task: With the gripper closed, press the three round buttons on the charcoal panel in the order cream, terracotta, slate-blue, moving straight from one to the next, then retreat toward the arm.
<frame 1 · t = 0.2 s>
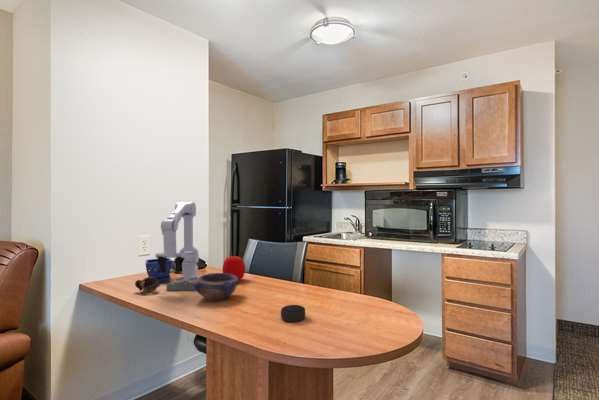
hand: (170, 272, 164), 10 cm above the table, fingers open, 7 cm apart
cream button: (206, 280, 172), point 4 cm above the table, slide at 0.0 cm
terracotta button: (179, 281, 173), point 4 cm above the table, slide at 0.0 cm
tomato: (234, 281, 186), on the table
flower pot: (159, 281, 191), on the table
slate button: (193, 280, 172), point 4 cm above the table, slide at 0.0 cm
brown bird figurine: (147, 292, 168), on the table
panel: (193, 288, 172), on the table
smart speaker: (293, 319, 124), on the table
bowl: (217, 298, 153), on the table
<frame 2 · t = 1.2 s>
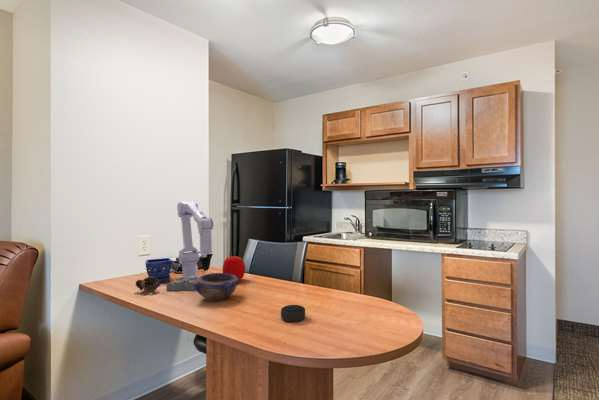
hand: (206, 269, 172), 9 cm above the table, fingers open, 4 cm apart
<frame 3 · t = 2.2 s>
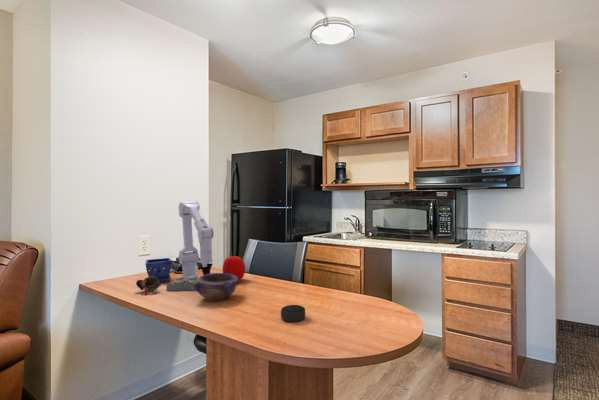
hand: (206, 278, 172), 5 cm above the table, fingers closed, pressing on cream button
cream button: (206, 283, 172), point 3 cm above the table, slide at 1.2 cm, touching gripper
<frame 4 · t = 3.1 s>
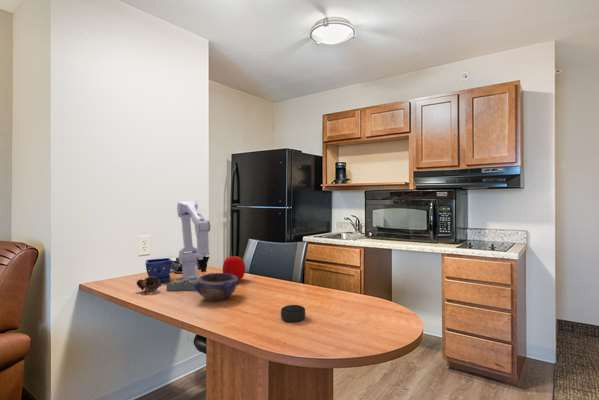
hand: (203, 271, 172), 8 cm above the table, fingers closed
cream button: (206, 283, 172), point 2 cm above the table, slide at 1.3 cm
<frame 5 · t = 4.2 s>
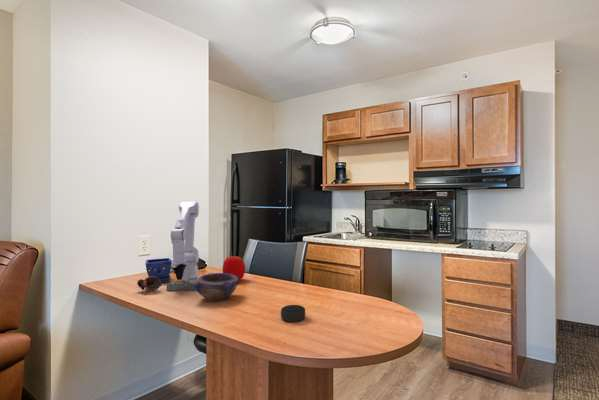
hand: (179, 279, 173), 5 cm above the table, fingers closed, pressing on terracotta button
terracotta button: (179, 283, 173), point 2 cm above the table, slide at 1.3 cm, touching gripper
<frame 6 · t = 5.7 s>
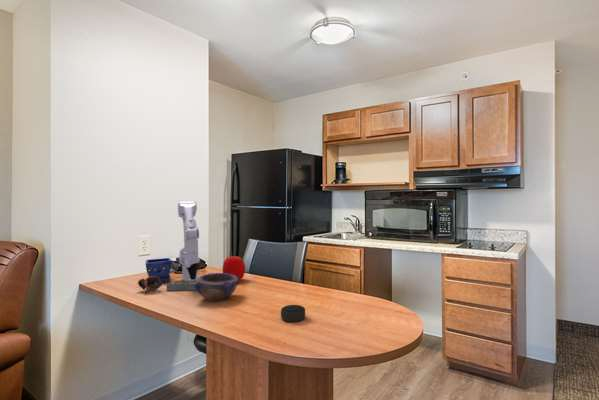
hand: (193, 279, 172), 5 cm above the table, fingers closed, pressing on slate button
terracotta button: (179, 283, 173), point 2 cm above the table, slide at 1.3 cm
slate button: (193, 283, 172), point 2 cm above the table, slide at 1.3 cm, touching gripper
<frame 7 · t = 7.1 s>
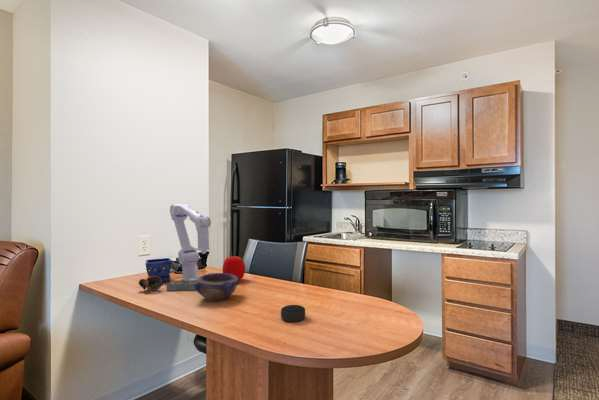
hand: (204, 265, 180), 10 cm above the table, fingers closed
slate button: (193, 283, 172), point 2 cm above the table, slide at 1.3 cm
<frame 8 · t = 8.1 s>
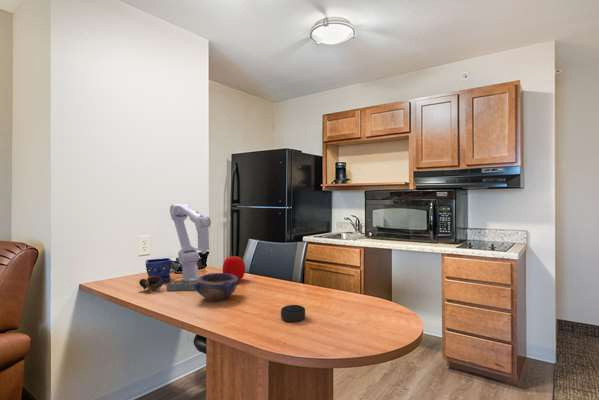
hand: (204, 265, 180), 10 cm above the table, fingers closed
at the end: cream button slide at 1.3 cm; terracotta button slide at 1.3 cm; slate button slide at 1.3 cm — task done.
